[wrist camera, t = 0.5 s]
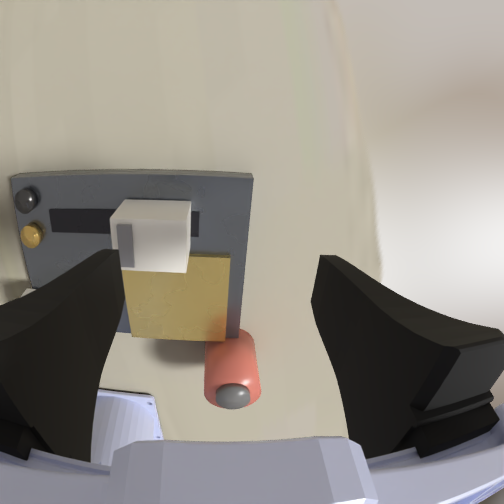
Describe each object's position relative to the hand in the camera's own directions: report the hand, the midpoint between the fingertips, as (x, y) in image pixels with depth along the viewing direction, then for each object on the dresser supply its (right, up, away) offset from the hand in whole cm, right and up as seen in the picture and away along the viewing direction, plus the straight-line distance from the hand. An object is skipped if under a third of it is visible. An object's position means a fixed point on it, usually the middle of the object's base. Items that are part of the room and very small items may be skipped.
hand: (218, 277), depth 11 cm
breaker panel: (-7, +1, +10) cm, 12 cm away
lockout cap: (-1, -7, +14) cm, 16 cm away
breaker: (-4, +3, +7) cm, 9 cm away
